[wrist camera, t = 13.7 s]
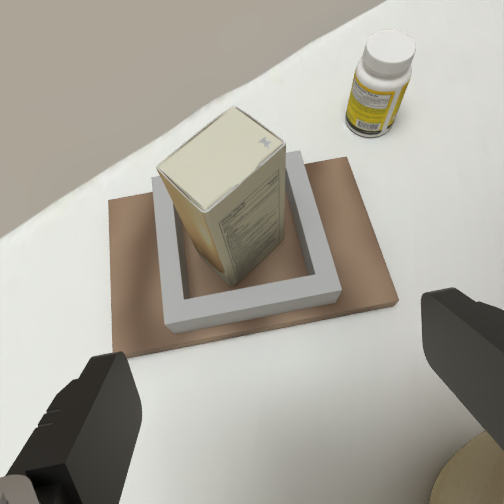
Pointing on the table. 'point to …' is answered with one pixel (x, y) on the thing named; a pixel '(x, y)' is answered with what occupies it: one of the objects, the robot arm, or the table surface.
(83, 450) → the robot arm
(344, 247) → the board
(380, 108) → the supplement bottle
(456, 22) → the table surface
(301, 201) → the collar
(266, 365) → the table surface
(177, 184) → the skincare box
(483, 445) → the plant pot
